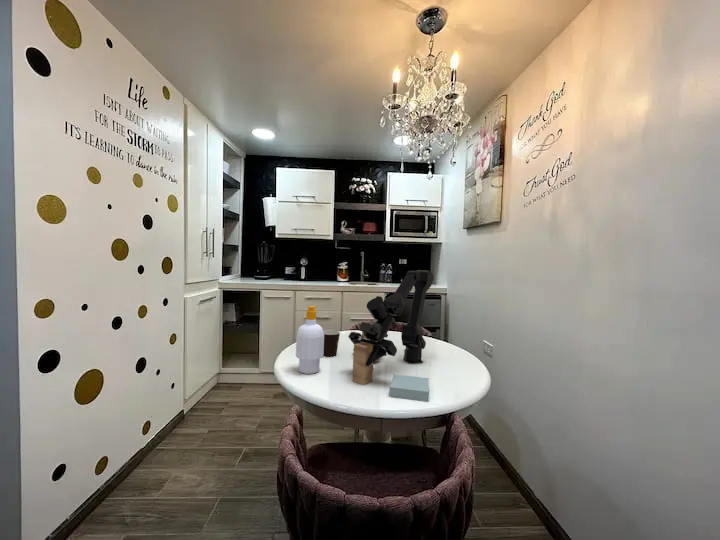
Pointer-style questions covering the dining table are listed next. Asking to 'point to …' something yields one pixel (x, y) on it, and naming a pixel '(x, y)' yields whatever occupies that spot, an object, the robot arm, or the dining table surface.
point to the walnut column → (362, 363)
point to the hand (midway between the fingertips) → (360, 363)
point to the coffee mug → (331, 342)
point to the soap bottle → (310, 343)
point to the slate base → (409, 387)
